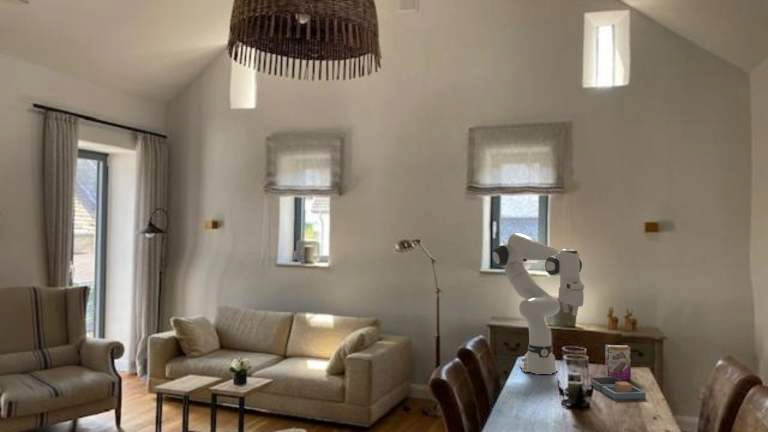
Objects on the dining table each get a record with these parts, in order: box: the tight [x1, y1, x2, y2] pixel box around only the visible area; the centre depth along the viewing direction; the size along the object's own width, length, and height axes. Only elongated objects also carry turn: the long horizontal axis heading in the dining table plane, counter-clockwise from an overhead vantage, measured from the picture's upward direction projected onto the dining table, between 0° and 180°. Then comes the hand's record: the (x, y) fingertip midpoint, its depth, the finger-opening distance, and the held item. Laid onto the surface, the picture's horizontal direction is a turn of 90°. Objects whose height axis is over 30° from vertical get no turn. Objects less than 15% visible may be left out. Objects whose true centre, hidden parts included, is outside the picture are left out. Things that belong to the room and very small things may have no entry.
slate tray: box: [601, 385, 646, 401], centre depth 258 cm, size 12×14×3 cm
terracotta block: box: [615, 381, 633, 393], centre depth 258 cm, size 5×5×5 cm
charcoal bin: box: [590, 376, 625, 393], centre depth 273 cm, size 14×14×3 cm
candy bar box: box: [604, 344, 632, 381], centre depth 287 cm, size 11×5×16 cm, turn 84°
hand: (570, 313), depth 269 cm, fingers open, 8 cm apart
